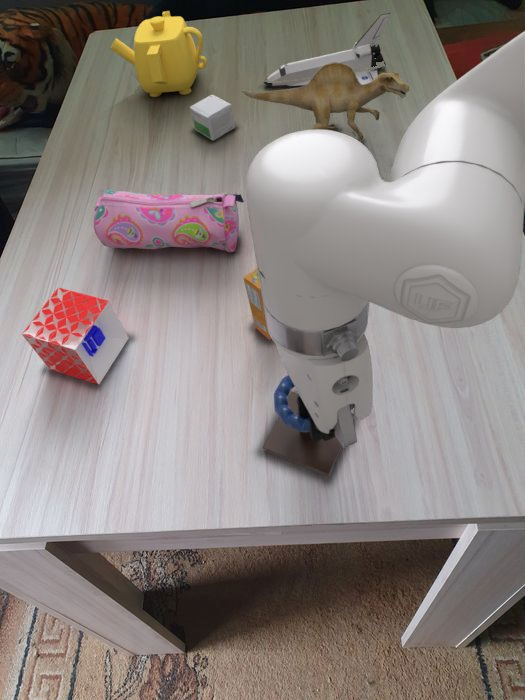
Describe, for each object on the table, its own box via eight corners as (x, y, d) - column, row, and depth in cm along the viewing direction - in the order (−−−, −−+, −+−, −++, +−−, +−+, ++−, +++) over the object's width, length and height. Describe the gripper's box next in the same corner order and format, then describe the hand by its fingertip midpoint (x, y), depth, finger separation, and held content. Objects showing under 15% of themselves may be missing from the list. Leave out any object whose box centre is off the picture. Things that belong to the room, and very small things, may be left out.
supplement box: (271, 313, 72) (263, 261, 64) (287, 327, 70) (282, 276, 62) (252, 327, 71) (242, 275, 63) (268, 341, 69) (260, 291, 61)
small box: (194, 130, 100) (188, 106, 96) (217, 117, 101) (212, 92, 97) (212, 142, 97) (207, 117, 93) (236, 128, 99) (232, 103, 95)
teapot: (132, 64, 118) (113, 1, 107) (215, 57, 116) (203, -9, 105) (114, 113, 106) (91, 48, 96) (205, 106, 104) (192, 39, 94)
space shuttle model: (260, 67, 111) (254, 16, 103) (376, 49, 110) (380, -5, 102) (268, 106, 102) (263, 53, 94) (395, 86, 101) (401, 31, 93)
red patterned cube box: (81, 324, 74) (58, 287, 68) (129, 337, 72) (109, 300, 65) (49, 370, 70) (21, 334, 64) (98, 385, 68) (74, 350, 61)
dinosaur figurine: (402, 146, 90) (412, 68, 79) (250, 157, 93) (240, 83, 82) (397, 121, 95) (406, 44, 84) (252, 132, 97) (242, 59, 86)
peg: (354, 417, 61) (357, 382, 55) (328, 477, 58) (328, 446, 51) (291, 395, 64) (287, 358, 58) (263, 451, 60) (255, 418, 54)
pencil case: (248, 223, 83) (240, 174, 76) (238, 265, 78) (228, 217, 70) (121, 221, 87) (101, 174, 79) (103, 260, 81) (81, 215, 74)
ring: (355, 387, 55) (355, 380, 54) (327, 445, 51) (327, 438, 50) (292, 364, 57) (292, 357, 56) (262, 418, 54) (261, 411, 53)
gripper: (421, 369, 34) (394, 477, 49) (315, 223, 43) (319, 352, 58) (316, 413, 33) (321, 510, 48) (230, 255, 42) (256, 377, 57)
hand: (320, 423), depth 53 cm, fingers closed on ring
